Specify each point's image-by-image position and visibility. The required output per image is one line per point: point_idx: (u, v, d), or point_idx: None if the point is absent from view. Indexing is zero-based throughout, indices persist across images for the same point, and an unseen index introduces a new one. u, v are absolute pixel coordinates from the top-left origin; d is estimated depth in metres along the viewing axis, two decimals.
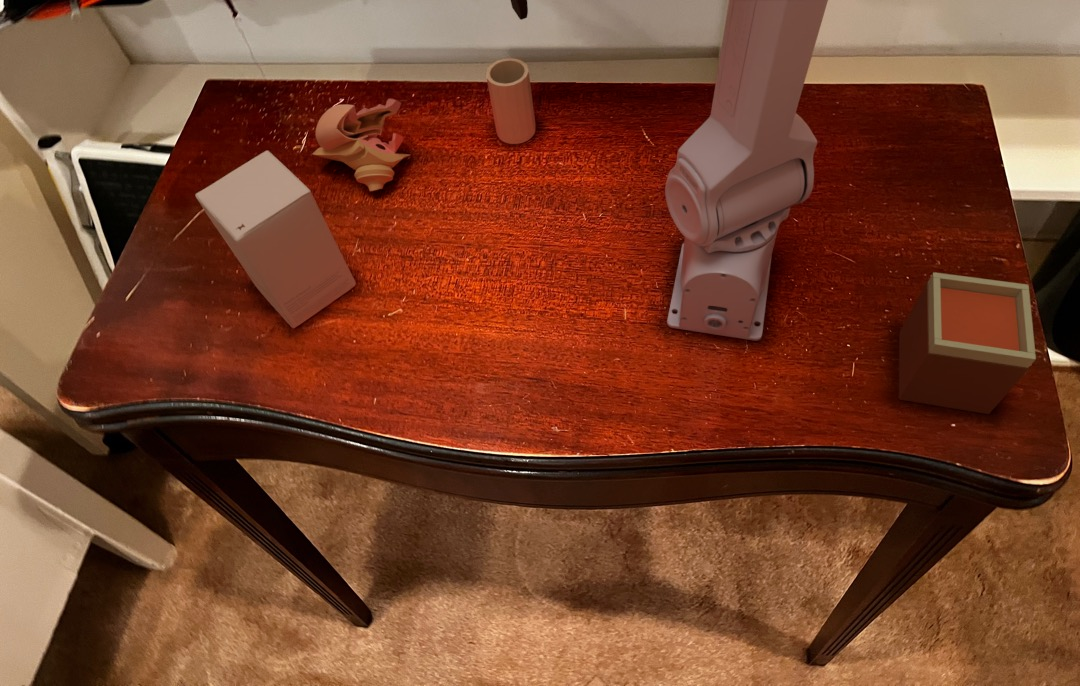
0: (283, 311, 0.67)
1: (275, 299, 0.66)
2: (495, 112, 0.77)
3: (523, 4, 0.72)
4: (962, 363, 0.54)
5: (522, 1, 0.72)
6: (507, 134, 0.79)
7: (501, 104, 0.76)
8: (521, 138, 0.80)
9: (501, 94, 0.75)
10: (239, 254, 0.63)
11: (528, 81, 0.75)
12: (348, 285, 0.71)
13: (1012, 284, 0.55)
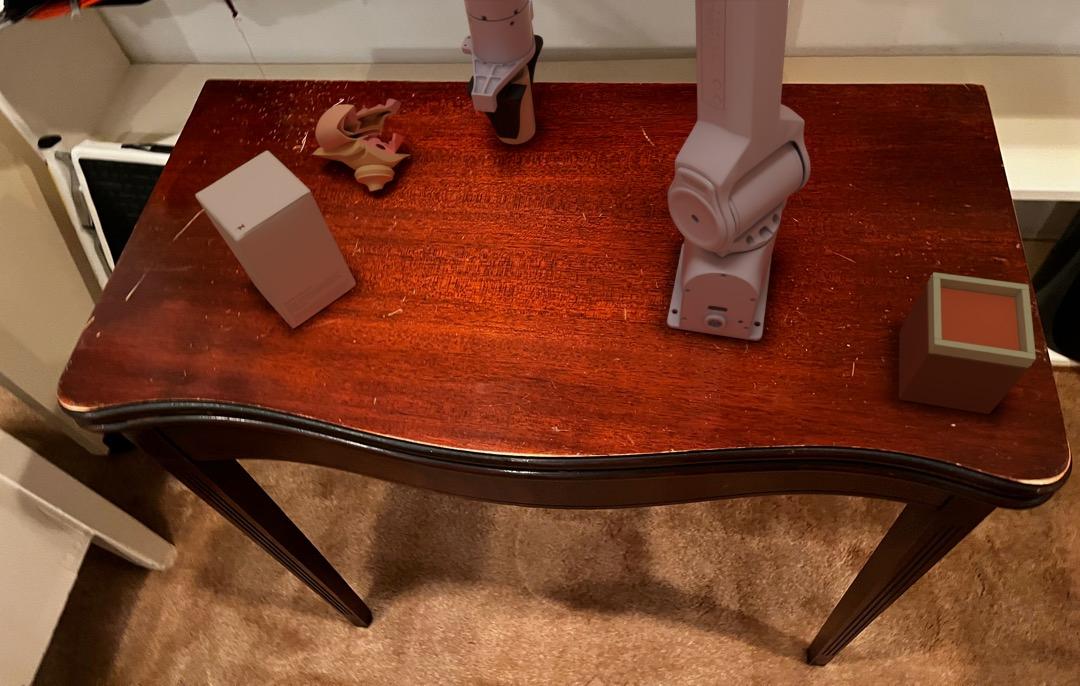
0: (283, 311, 0.67)
1: (275, 299, 0.66)
2: None
3: (519, 122, 0.76)
4: (962, 363, 0.54)
5: (518, 119, 0.76)
6: None
7: None
8: (521, 139, 0.80)
9: None
10: (239, 254, 0.63)
11: (528, 81, 0.75)
12: (348, 285, 0.71)
13: (1012, 284, 0.55)
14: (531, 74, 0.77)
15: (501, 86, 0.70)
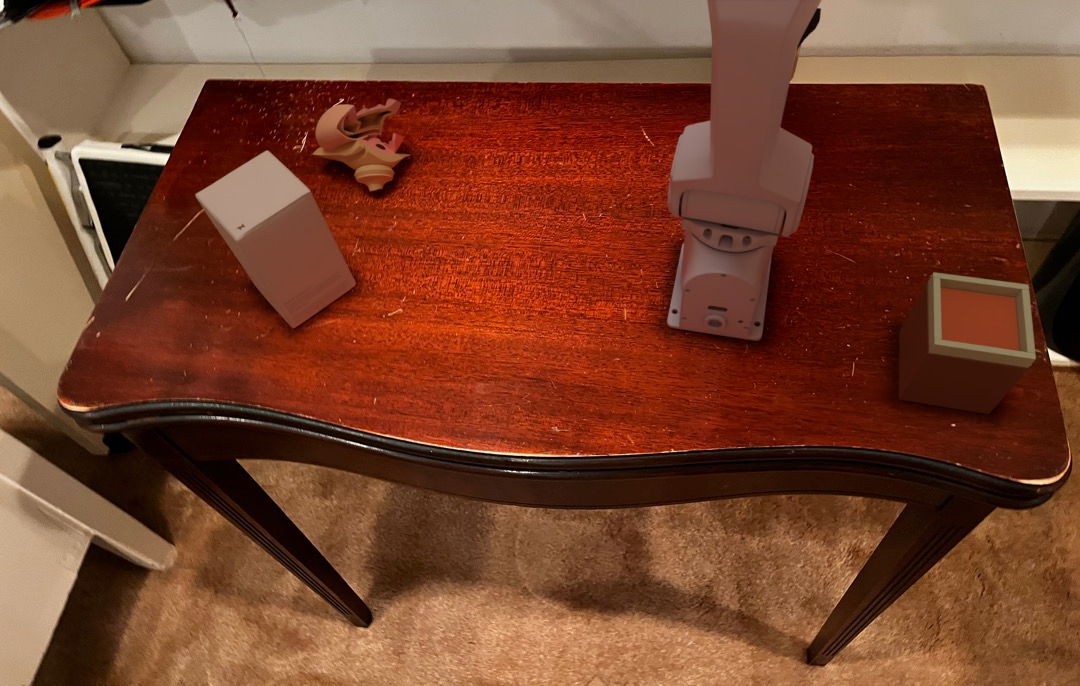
0: (283, 311, 0.67)
1: (275, 299, 0.66)
2: None
3: None
4: (962, 363, 0.54)
5: None
6: None
7: None
8: None
9: None
10: (239, 254, 0.63)
11: None
12: (348, 285, 0.71)
13: (1012, 284, 0.55)
14: None
15: None
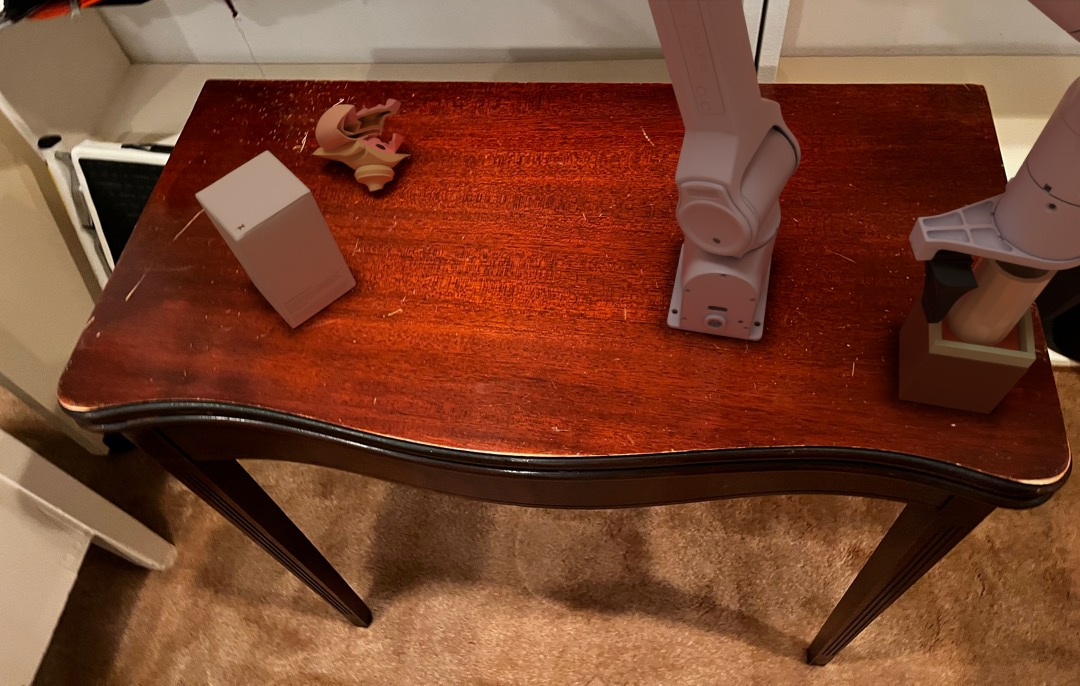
0: (283, 311, 0.67)
1: (275, 299, 0.66)
2: None
3: (942, 311, 0.52)
4: (962, 363, 0.54)
5: (943, 308, 0.51)
6: (952, 310, 0.54)
7: None
8: (959, 332, 0.54)
9: (981, 267, 0.50)
10: (239, 254, 0.63)
11: (1026, 292, 0.49)
12: (348, 285, 0.71)
13: None
14: (1078, 292, 0.49)
15: (957, 248, 0.46)
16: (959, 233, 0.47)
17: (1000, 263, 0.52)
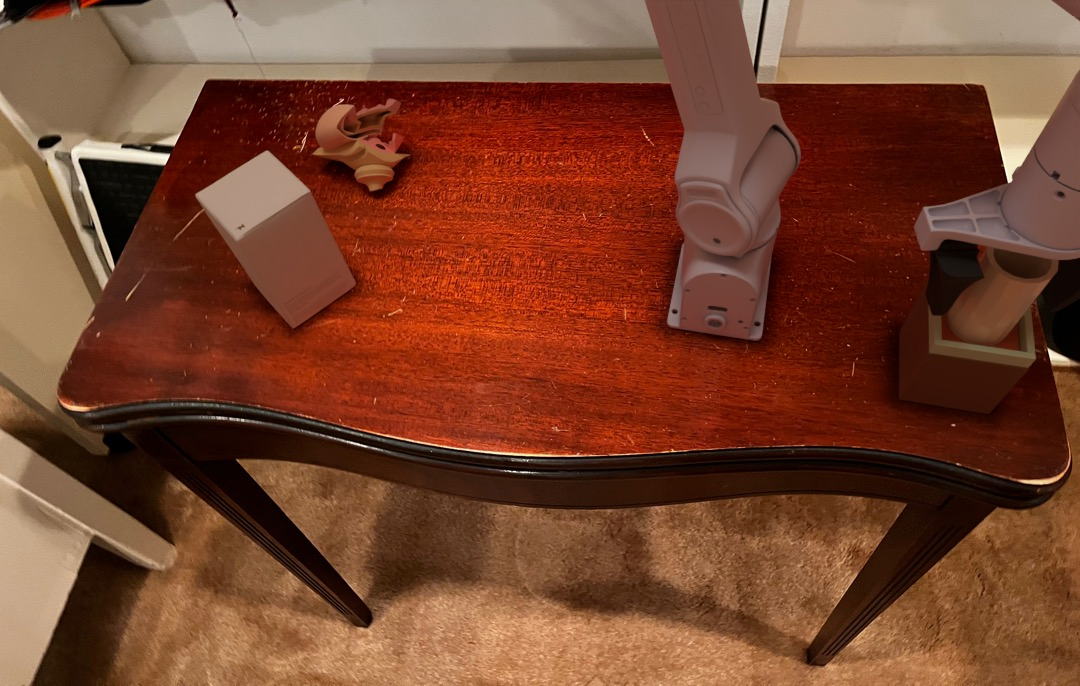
0: (283, 311, 0.67)
1: (275, 299, 0.66)
2: None
3: (947, 303, 0.51)
4: (962, 363, 0.54)
5: (948, 300, 0.51)
6: (952, 310, 0.54)
7: None
8: (959, 332, 0.54)
9: (981, 267, 0.50)
10: (239, 254, 0.63)
11: (1026, 292, 0.49)
12: (348, 285, 0.71)
13: None
14: None
15: (963, 238, 0.46)
16: (965, 223, 0.46)
17: (1000, 263, 0.52)
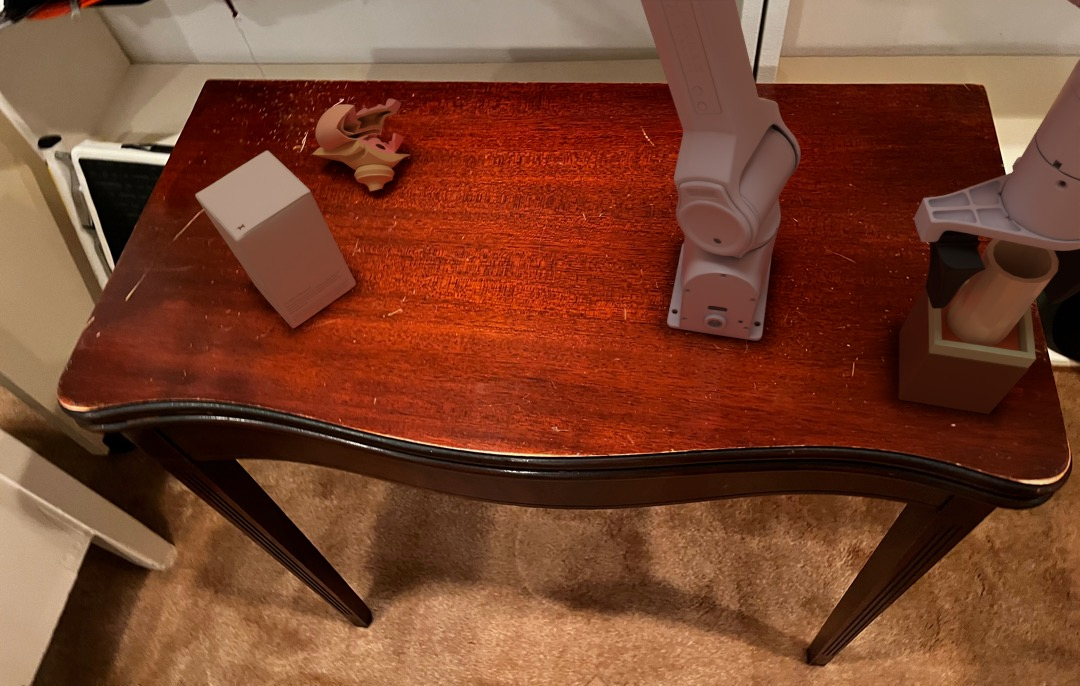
0: (283, 311, 0.67)
1: (275, 299, 0.66)
2: None
3: (948, 295, 0.50)
4: (962, 363, 0.54)
5: (949, 292, 0.50)
6: (952, 310, 0.54)
7: (972, 276, 0.51)
8: (959, 332, 0.54)
9: None
10: (239, 254, 0.63)
11: (1026, 292, 0.49)
12: (348, 285, 0.71)
13: None
14: None
15: (964, 229, 0.45)
16: (965, 214, 0.46)
17: (1000, 263, 0.52)
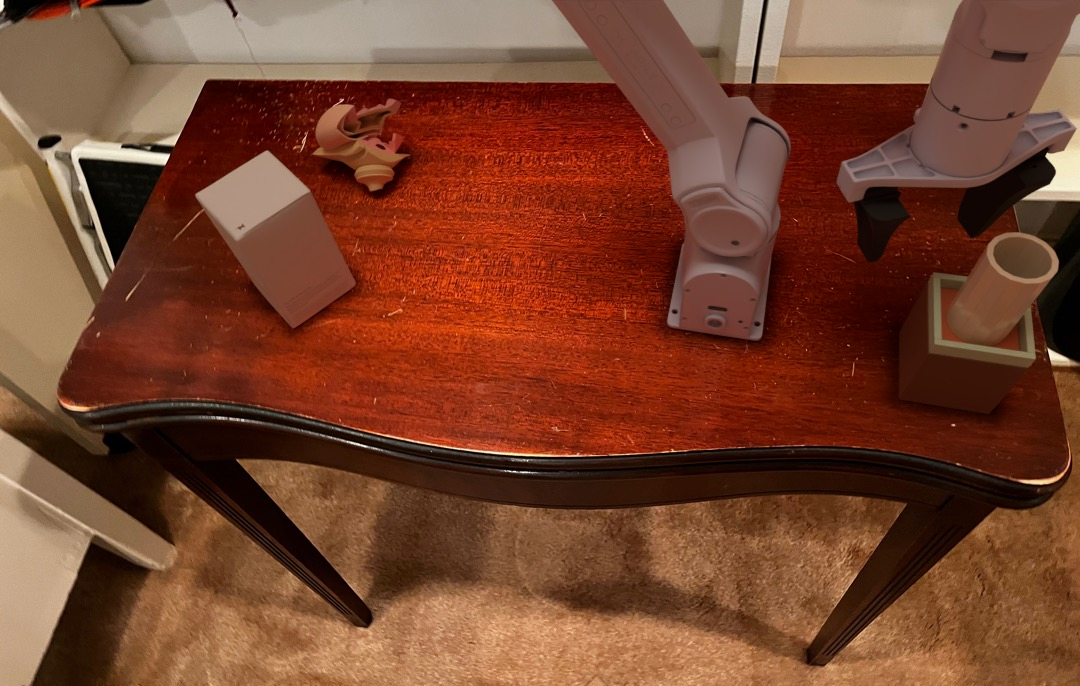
0: (283, 311, 0.67)
1: (275, 299, 0.66)
2: (967, 277, 0.53)
3: (880, 247, 0.53)
4: (962, 363, 0.54)
5: (881, 244, 0.53)
6: (952, 310, 0.54)
7: (972, 276, 0.51)
8: (959, 332, 0.54)
9: (981, 267, 0.50)
10: (239, 254, 0.63)
11: (1026, 292, 0.49)
12: (348, 285, 0.71)
13: None
14: (999, 204, 0.52)
15: (884, 183, 0.48)
16: (882, 169, 0.49)
17: (1000, 263, 0.52)
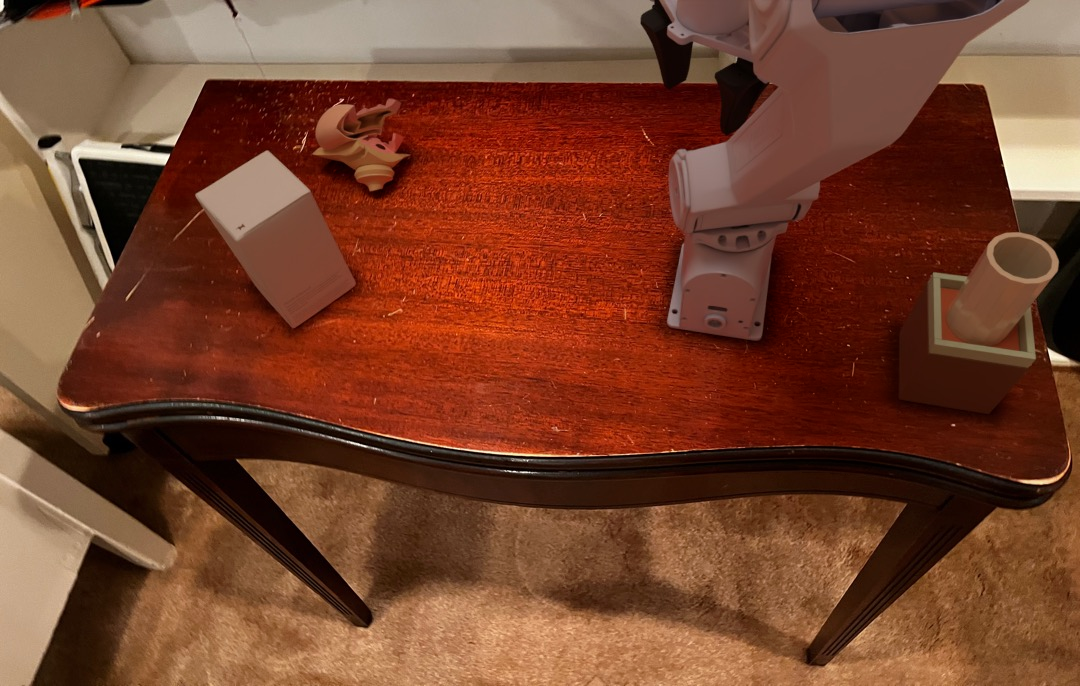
0: (283, 311, 0.67)
1: (275, 299, 0.66)
2: (967, 277, 0.53)
3: None
4: (962, 363, 0.54)
5: None
6: (952, 310, 0.54)
7: (972, 276, 0.51)
8: (959, 332, 0.54)
9: (981, 267, 0.50)
10: (239, 254, 0.63)
11: (1026, 292, 0.49)
12: (348, 285, 0.71)
13: None
14: None
15: None
16: None
17: (1000, 263, 0.52)
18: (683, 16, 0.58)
